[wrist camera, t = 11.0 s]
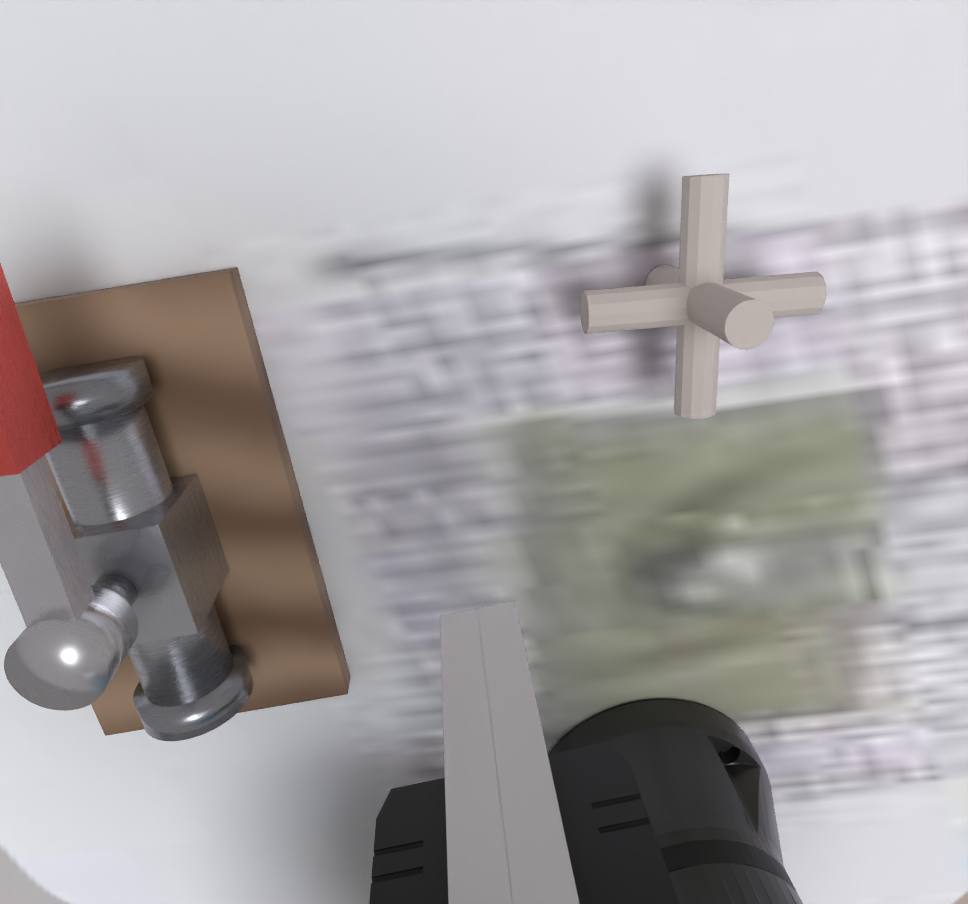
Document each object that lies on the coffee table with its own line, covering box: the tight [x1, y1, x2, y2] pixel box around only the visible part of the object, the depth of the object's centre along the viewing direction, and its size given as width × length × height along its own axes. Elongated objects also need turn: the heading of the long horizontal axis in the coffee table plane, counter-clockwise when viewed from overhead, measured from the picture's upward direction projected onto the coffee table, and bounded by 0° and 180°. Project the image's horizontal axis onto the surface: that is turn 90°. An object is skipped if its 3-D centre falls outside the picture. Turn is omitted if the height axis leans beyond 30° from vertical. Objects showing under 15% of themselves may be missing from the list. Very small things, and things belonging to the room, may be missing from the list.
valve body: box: [39, 356, 254, 741], centre depth 33 cm, size 18×6×8 cm, turn 9°
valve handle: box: [0, 264, 139, 710], centre depth 25 cm, size 4×16×3 cm, turn 6°
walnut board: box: [15, 267, 350, 736], centre depth 37 cm, size 24×14×2 cm, turn 9°
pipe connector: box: [580, 174, 826, 419], centre depth 30 cm, size 10×10×10 cm
